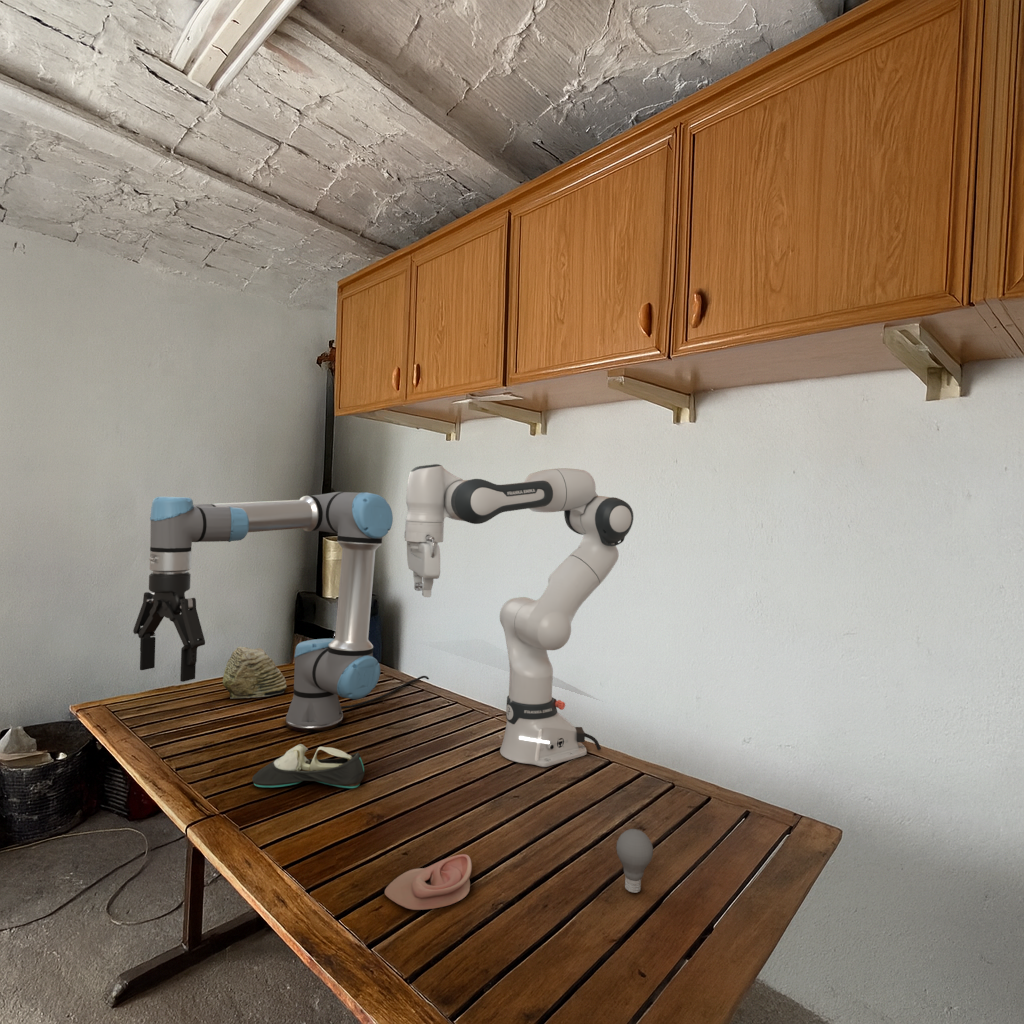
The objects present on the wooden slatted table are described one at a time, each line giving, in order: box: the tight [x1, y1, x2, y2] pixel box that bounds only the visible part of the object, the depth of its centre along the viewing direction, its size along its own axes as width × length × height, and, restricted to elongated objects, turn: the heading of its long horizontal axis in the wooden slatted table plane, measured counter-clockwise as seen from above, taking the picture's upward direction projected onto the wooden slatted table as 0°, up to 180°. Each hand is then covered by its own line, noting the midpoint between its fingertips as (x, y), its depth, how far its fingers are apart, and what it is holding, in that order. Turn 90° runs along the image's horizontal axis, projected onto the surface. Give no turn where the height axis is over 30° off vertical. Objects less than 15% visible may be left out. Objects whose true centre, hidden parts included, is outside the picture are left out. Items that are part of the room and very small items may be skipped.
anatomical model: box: [384, 853, 473, 911], centre depth 104 cm, size 13×4×12 cm
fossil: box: [222, 646, 288, 699], centre depth 198 cm, size 9×18×15 cm, turn 132°
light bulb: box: [615, 828, 654, 894], centre depth 106 cm, size 6×6×10 cm
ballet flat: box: [251, 743, 366, 789], centre depth 140 cm, size 8×24×8 cm, turn 96°
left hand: (167, 674), depth 131 cm, fingers open, 13 cm apart
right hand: (422, 593), depth 147 cm, fingers open, 8 cm apart
